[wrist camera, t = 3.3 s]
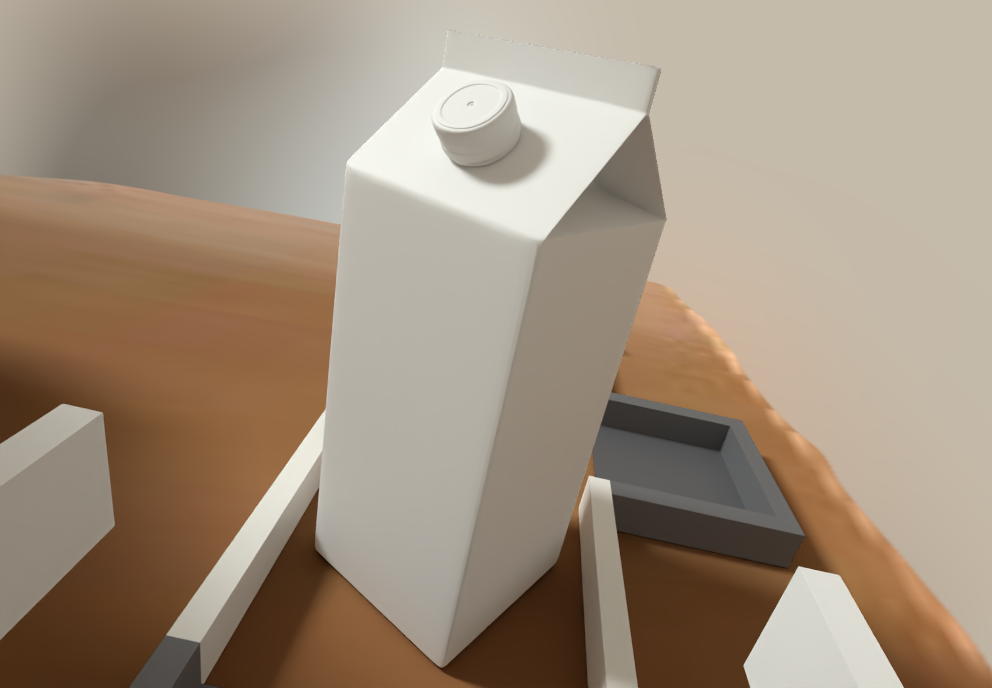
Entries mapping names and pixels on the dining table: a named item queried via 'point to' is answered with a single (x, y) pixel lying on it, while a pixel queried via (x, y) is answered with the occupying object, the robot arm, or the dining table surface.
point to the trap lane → (602, 512)
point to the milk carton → (481, 326)
